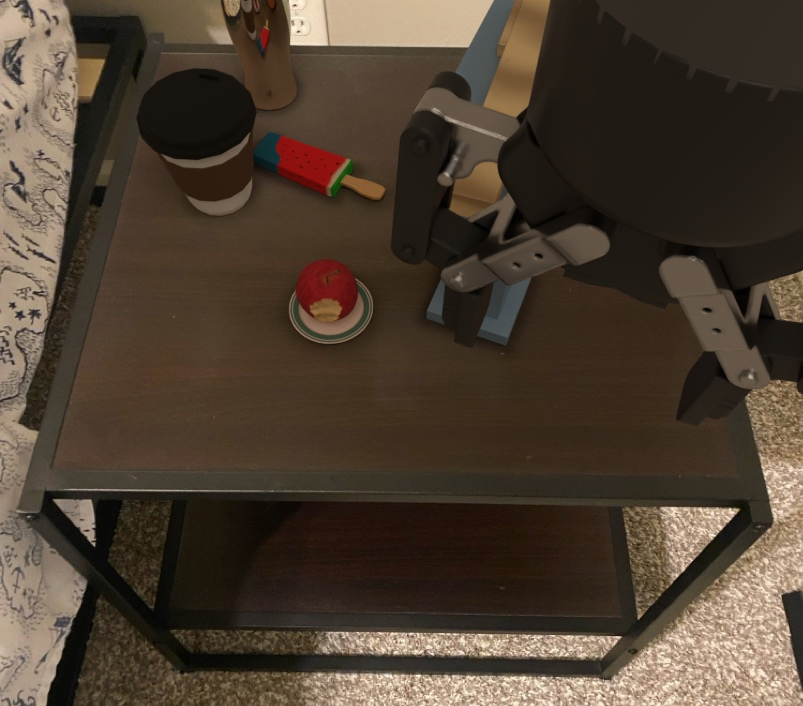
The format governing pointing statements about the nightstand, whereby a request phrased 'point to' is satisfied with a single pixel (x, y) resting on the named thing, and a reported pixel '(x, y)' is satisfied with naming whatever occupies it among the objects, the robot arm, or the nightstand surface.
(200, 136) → the coffee cup
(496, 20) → the stand
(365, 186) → the popsicle
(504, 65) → the stick
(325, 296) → the apple
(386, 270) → the nightstand surface
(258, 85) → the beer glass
